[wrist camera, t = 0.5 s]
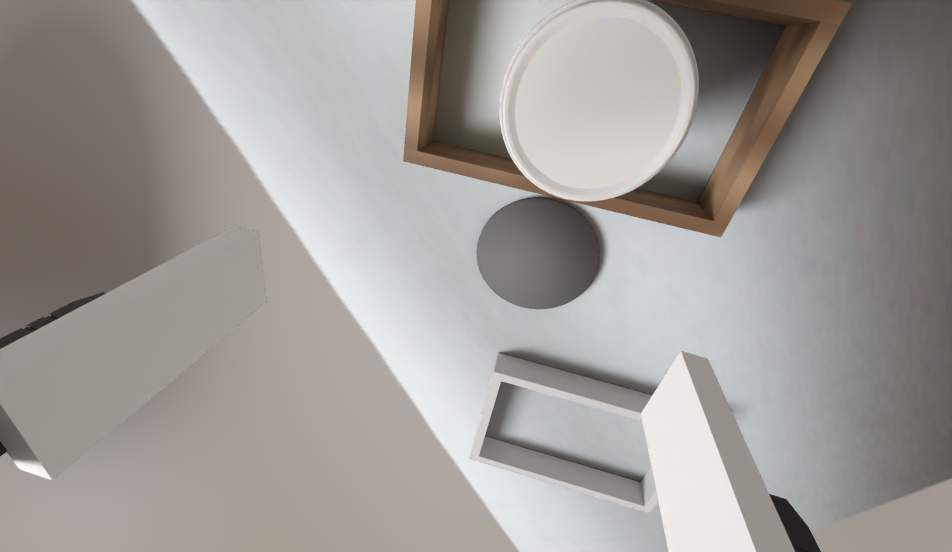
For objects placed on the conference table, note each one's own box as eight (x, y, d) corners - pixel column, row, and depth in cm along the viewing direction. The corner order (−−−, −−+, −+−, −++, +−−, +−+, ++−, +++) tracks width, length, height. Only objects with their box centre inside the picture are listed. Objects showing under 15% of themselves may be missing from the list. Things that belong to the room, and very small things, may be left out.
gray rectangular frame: (498, 352, 43) (493, 371, 40) (702, 409, 41) (711, 433, 38) (474, 438, 50) (469, 458, 48) (645, 489, 48) (649, 513, 46)
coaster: (490, 184, 34) (488, 186, 33) (617, 215, 33) (617, 217, 32) (469, 289, 39) (467, 292, 39) (576, 317, 38) (576, 321, 38)
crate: (441, -60, 26) (422, -77, 23) (812, 10, 24) (852, 2, 21) (420, 150, 33) (403, 161, 30) (704, 217, 31) (720, 237, 28)
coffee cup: (681, 86, 27) (750, 104, 17) (578, 180, 32) (584, 239, 22) (591, -20, 26) (608, -70, 15) (496, 96, 30) (459, 117, 20)
